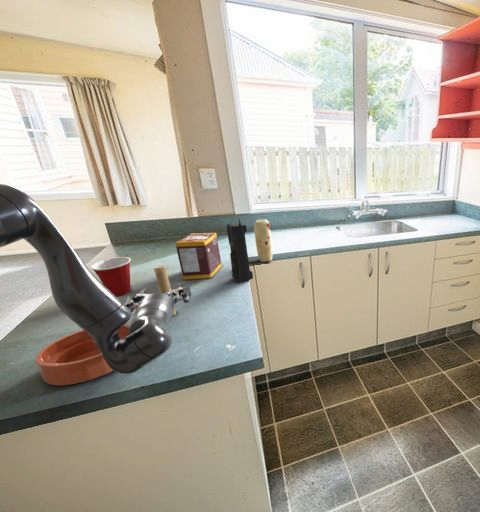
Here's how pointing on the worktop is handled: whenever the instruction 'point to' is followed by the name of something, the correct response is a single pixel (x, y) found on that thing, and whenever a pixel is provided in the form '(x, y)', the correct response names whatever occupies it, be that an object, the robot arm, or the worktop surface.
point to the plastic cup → (114, 274)
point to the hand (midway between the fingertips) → (163, 289)
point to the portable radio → (239, 252)
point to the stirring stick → (163, 281)
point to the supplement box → (199, 255)
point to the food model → (263, 240)
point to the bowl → (73, 359)
